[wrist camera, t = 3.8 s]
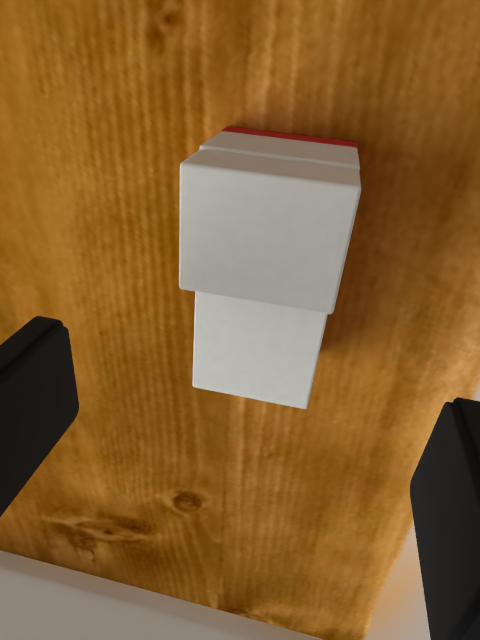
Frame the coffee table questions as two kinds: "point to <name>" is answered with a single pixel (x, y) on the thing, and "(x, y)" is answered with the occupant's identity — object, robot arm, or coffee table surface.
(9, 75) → the coffee table surface
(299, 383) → the red-bottomed white block
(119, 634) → the robot arm
